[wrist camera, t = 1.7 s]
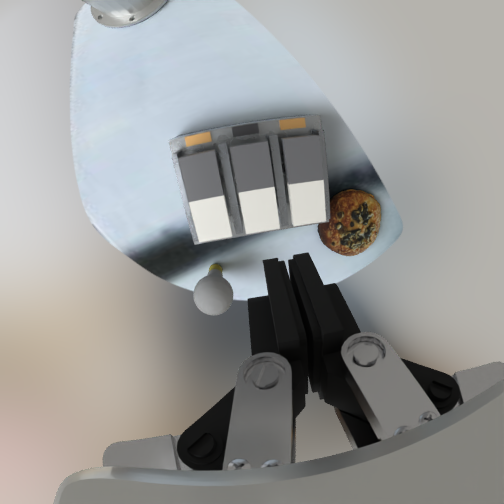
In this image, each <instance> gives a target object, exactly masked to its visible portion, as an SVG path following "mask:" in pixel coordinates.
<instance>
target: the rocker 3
mask: <svg viewBox="0 0 504 504" xmlns="http://www.w3.org/2000/svg"><path fill="white" fill-rule="evenodd" d="M281 140H282V147H283V154H284V162H285V169H286V177H287V185H288V194H289V202H290V211H291V220H292V224H293V226H299V225H305V224H312V223H318V222H324V221H326V210H325V194H324V180H323V167H322V156H321V146H320V137H319V135H305V136H296V137H287V138H281Z"/></svg>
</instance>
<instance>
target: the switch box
mask: <svg viewBox="0 0 504 504" xmlns="http://www.w3.org/2000/svg"><path fill="white" fill-rule="evenodd" d="M305 135H319V137H320V146H321V156H322V167H323V180H324V194H325V210H326V221H324V222H318V223H312V224H319V223H325V222H329V219H330V201H329V184H328V171H327V159H326V148H325V138H324V130H322V126H321V118H320V115H301V116H291V117H282V118H273V119H266V120H259V121H252V122H245V123H239V124H234V125H228V126H223V127H218V128H213V129H208V130H203V131H198V132H194V133H190V134H185V135H181V136H177V137H175V138H173V139H170V140H169V145H170V149H171V153H172V155H171V156H172V160H173V164H174V168H175V173H176V177H177V181H178V185H179V189H180V193H181V197H182V200H183V204H184V208H185V212H186V216H187V219H188V223H189V227H190V230H191V234H192V237H193V241H194V243H195V244H200V243H206V242H212V241H217V240H223V239H229V238H234V237H240V236H246V235H252V234H258V233H264V232H270V231H276V230H282V229H288V228H294V227H300V226H306V225H312V224H305V225H299V226H293V224H292V220H291V211H290V202H289V194H288V185H287V177H286V169H285V162H284V154H283V147H282V140H281V138H287V137H296V136H305ZM265 140H267V141H268V146H269V152H270V159H271V166H272V173H273V180H274V187H275V194H276V202H277V209H278V217H279V225H280V229H275V230H269V231H263V232H257V233H251V234H246V231H245V225H244V220H243V215H242V209H241V204H240V199H239V193H238V188H237V183H236V177H235V172H234V167H233V161H232V156H231V150H230V146H234V145H240V144H246V143H252V142H258V141H265ZM213 149H215V150H216V155H217V160H218V165H219V170H220V175H221V180H222V185H223V190H224V194H225V199H226V204H227V209H228V214H229V219H230V223H231V228H232V237H228V238H222V239H216V240H211V241H205V242H200V243H199V240H198V236H197V232H196V229H195V225H194V221H193V217H192V213H191V209H190V206H189V202H188V198H187V194H186V190H185V186H184V181H183V177H182V173H181V169H180V165H179V160H178V158H179V157H181V156H185V155H190V154H194V153H199V152H203V151H208V150H213Z"/></svg>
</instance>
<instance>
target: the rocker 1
mask: <svg viewBox="0 0 504 504" xmlns="http://www.w3.org/2000/svg"><path fill="white" fill-rule="evenodd" d="M178 160H179V165H180V169H181V173H182V177H183V181H184V186H185V190H186V194H187V198H188V202H189V206H190V209H191V213H192V217H193V221H194V225H195V229H196V232H197V236H198V240H199V243H200V242H205V241H211V240H216V239H222V238H228V237H232V228H231V223H230V219H229V214H228V209H227V204H226V199H225V194H224V190H223V185H222V180H221V175H220V170H219V165H218V160H217V155H216V150H215V149H213V150H208V151H203V152H199V153H194V154H190V155H185V156H181V157H179V158H178Z"/></svg>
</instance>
